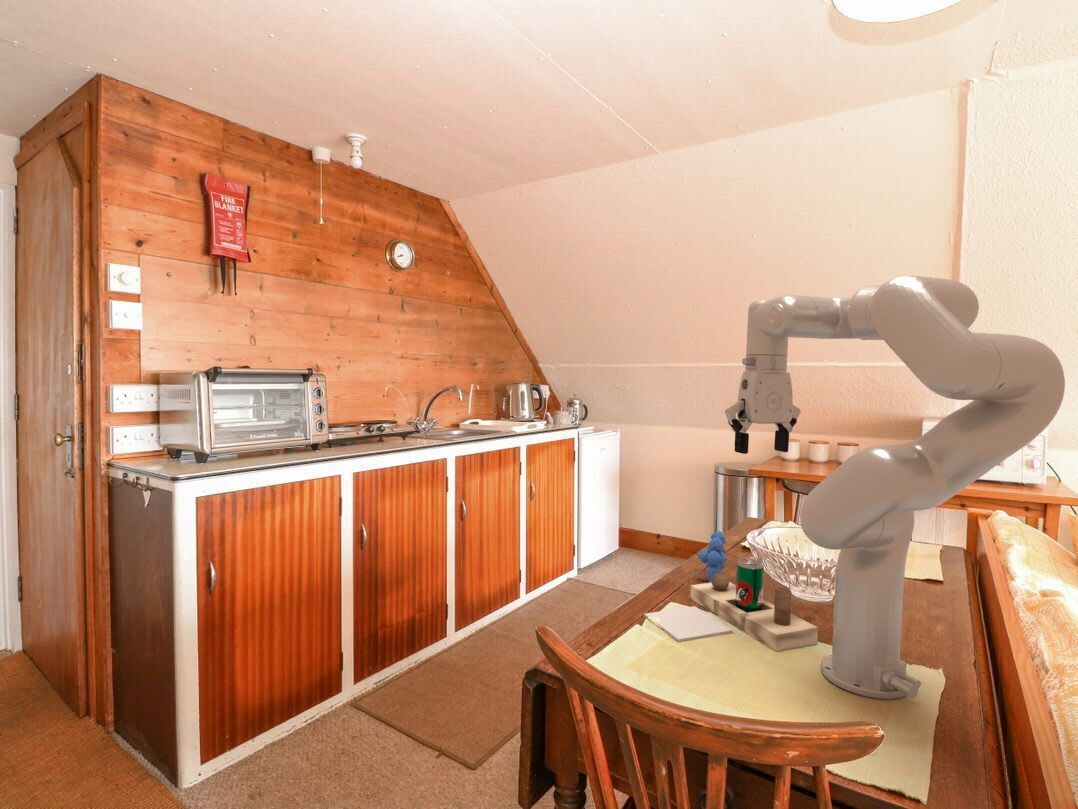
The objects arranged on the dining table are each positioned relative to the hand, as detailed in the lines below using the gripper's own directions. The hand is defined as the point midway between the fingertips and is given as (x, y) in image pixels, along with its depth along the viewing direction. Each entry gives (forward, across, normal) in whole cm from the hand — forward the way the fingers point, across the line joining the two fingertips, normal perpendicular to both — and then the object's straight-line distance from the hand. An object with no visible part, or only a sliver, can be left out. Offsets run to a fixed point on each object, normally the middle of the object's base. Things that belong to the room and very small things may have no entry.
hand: (761, 452), depth 117 cm
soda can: (+34, -2, 0) cm, 34 cm away
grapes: (+34, +4, +20) cm, 40 cm away
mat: (+34, -14, +1) cm, 37 cm away
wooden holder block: (+34, -2, 0) cm, 34 cm away
